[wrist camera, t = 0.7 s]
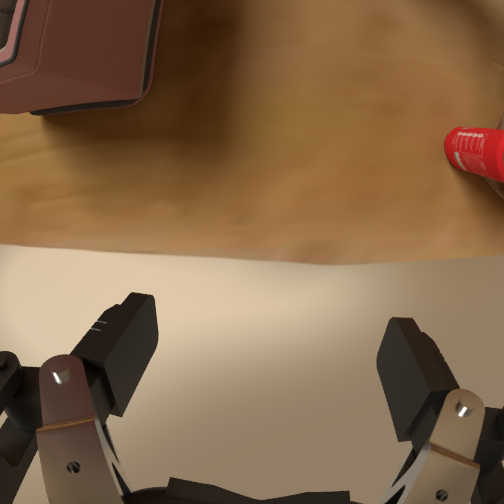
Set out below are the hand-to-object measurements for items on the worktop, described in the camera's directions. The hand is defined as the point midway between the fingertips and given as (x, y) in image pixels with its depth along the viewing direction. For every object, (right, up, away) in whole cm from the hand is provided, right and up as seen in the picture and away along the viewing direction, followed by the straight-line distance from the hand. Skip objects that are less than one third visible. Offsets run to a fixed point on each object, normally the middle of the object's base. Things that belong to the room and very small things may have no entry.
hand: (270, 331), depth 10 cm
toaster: (-20, +36, +16) cm, 44 cm away
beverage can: (+24, +15, +20) cm, 35 cm away
